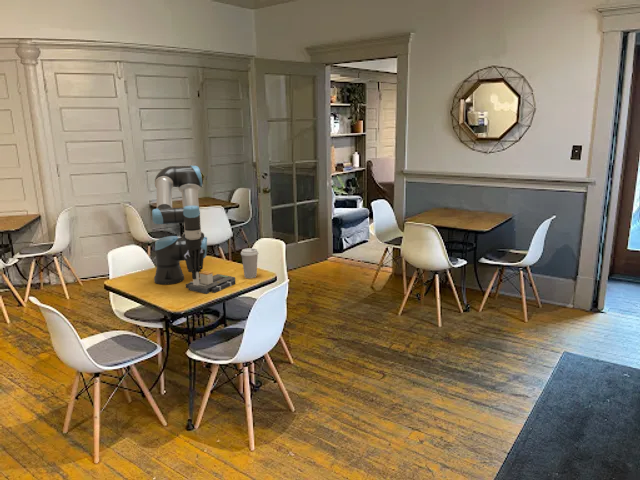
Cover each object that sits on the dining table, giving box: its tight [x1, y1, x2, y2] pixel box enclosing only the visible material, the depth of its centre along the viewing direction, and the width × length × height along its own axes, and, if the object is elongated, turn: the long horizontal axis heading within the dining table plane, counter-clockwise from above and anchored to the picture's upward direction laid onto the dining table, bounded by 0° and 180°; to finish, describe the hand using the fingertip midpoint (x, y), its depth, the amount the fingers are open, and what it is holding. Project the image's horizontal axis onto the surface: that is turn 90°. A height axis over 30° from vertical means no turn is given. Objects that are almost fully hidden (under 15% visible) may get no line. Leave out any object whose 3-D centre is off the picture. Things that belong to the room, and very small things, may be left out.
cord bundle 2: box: [211, 280, 236, 294], centre depth 246 cm, size 3×16×2 cm, turn 151°
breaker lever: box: [199, 270, 214, 285], centre depth 245 cm, size 5×4×6 cm
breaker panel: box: [187, 273, 236, 295], centre depth 249 cm, size 12×22×3 cm, turn 151°
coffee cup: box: [240, 247, 259, 279], centre depth 263 cm, size 10×10×15 cm
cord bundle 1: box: [184, 278, 200, 289], centre depth 253 cm, size 5×18×2 cm, turn 151°
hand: (196, 284), depth 239 cm, fingers closed
